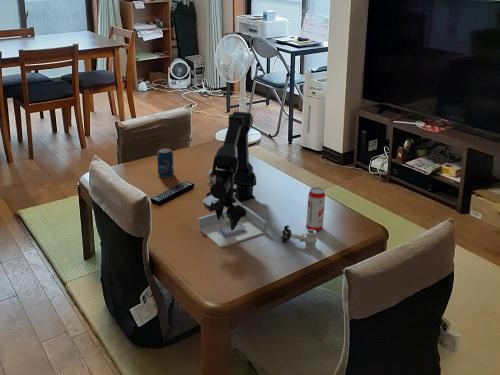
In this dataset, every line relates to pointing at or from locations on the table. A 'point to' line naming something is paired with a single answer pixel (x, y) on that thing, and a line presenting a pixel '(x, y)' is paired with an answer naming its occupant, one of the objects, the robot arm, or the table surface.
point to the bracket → (226, 226)
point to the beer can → (315, 209)
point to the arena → (252, 229)
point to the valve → (301, 237)
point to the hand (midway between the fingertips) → (225, 224)
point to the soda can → (165, 162)
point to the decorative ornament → (212, 176)
